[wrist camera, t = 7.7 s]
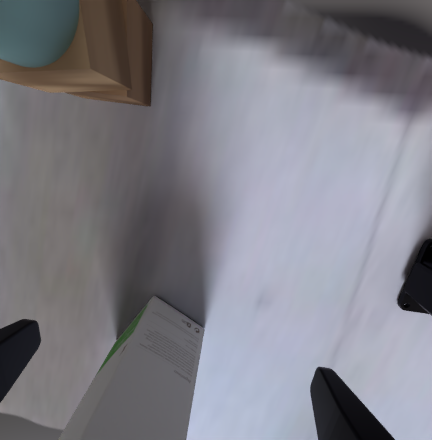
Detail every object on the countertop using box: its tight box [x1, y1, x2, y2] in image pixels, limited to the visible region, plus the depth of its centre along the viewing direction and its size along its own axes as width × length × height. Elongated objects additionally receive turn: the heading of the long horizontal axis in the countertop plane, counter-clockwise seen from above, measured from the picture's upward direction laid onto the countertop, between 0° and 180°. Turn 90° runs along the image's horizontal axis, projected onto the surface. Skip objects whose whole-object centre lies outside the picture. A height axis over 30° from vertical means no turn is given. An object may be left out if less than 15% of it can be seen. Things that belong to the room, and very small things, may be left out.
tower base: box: [65, 0, 153, 106], centre depth 15 cm, size 5×5×4 cm
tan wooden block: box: [0, 0, 132, 93], centre depth 11 cm, size 5×5×4 cm
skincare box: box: [58, 296, 204, 440], centre depth 16 cm, size 8×7×16 cm
